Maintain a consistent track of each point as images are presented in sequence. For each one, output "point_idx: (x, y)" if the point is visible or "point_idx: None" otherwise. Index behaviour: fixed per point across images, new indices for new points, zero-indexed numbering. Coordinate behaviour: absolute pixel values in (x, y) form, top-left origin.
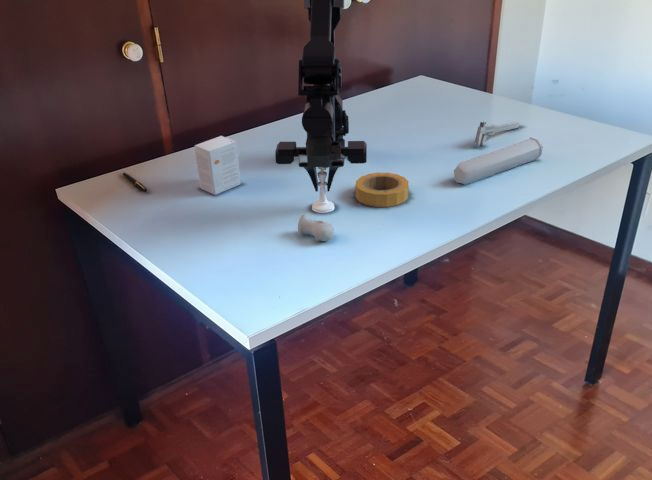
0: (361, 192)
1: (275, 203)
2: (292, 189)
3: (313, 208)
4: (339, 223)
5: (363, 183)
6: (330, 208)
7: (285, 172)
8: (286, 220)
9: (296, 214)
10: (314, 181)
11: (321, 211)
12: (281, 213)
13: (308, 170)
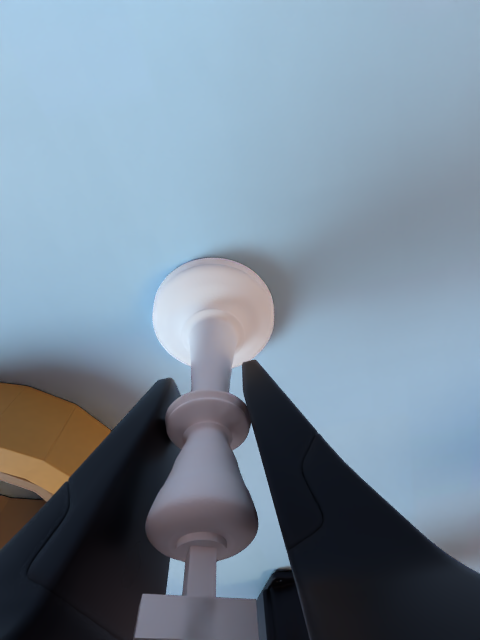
0: (30, 441)
1: (469, 309)
2: (390, 433)
3: (258, 282)
4: (31, 140)
5: None
6: (158, 296)
7: (422, 514)
8: (404, 97)
9: (346, 209)
10: (271, 415)
11: (203, 263)
12: (439, 201)
13: (400, 553)
